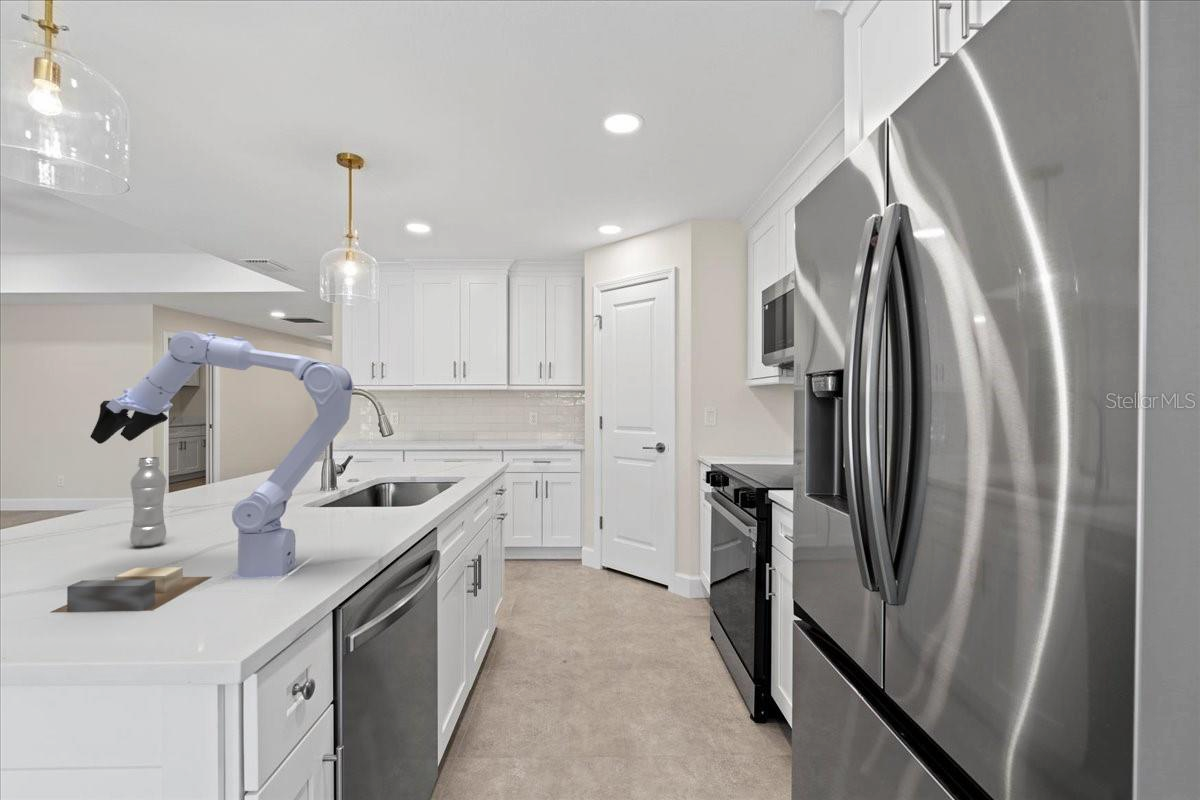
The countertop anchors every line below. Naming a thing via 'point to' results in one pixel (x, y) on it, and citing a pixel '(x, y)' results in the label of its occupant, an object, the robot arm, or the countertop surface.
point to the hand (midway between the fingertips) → (111, 438)
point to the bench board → (121, 595)
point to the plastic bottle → (148, 503)
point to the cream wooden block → (156, 577)
